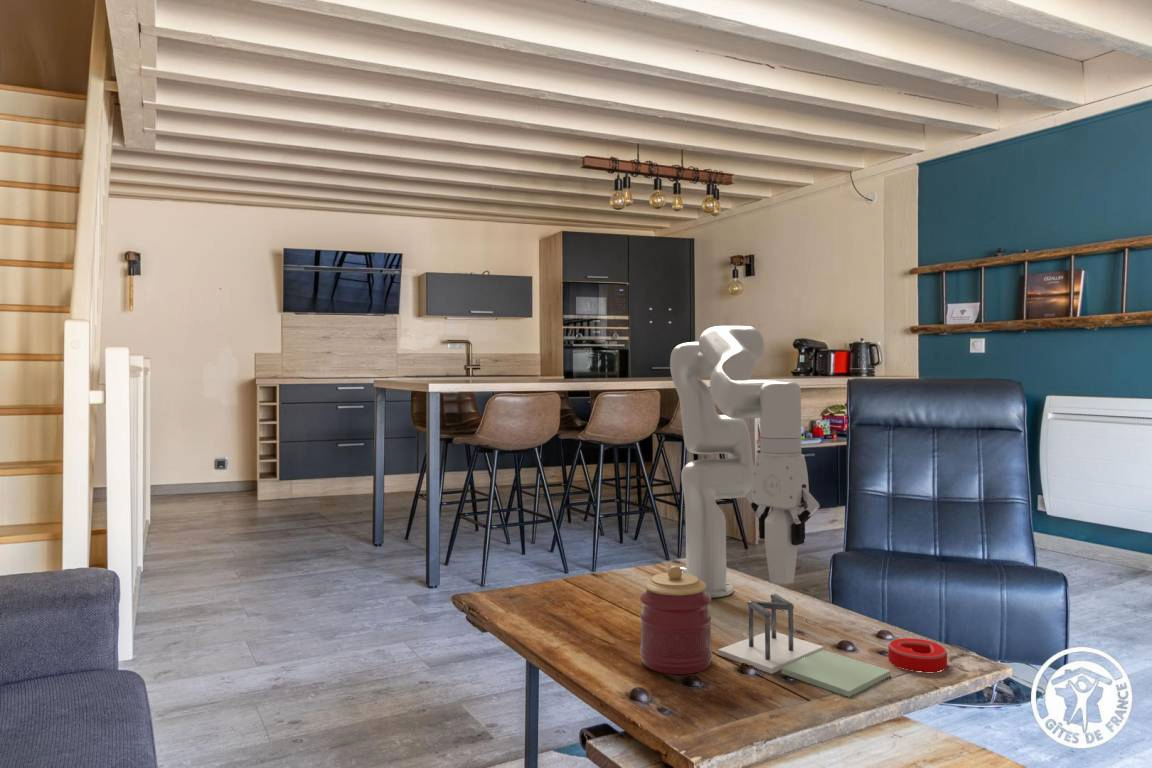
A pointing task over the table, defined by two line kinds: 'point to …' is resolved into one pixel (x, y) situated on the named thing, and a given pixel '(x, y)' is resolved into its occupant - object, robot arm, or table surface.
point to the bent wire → (761, 608)
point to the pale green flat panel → (836, 672)
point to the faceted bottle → (780, 546)
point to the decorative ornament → (917, 655)
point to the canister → (675, 623)
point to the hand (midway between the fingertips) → (781, 540)
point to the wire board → (777, 652)
